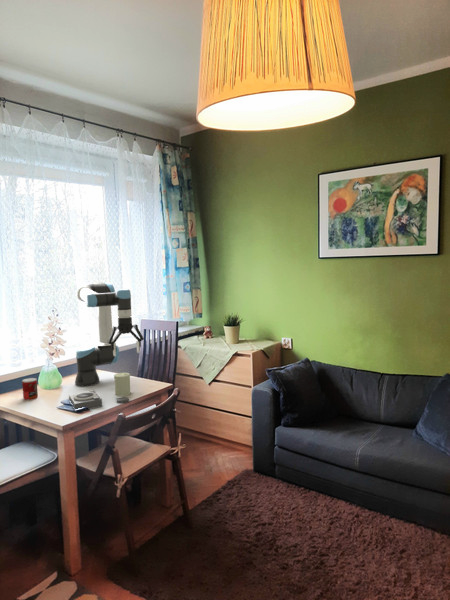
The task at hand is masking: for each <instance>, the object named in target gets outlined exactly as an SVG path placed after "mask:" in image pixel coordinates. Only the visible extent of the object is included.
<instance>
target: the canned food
mask: <svg viewBox="0 0 450 600" xmlns="http://www.w3.org/2000/svg"><path fill="white" fill-rule="evenodd" d="M21 383H22V384H21V386H22V395H23V396H22V397H23V400H24V401H30V400H31V401H32V400H36V399H37V398H38V395H39V394H38V379H37V378H36V377H29V378H24V379H22V381H21Z"/></svg>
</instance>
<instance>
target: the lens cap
mask: <svg viewBox="0 0 450 600" xmlns="http://www.w3.org/2000/svg"><path fill="white" fill-rule="evenodd" d="M129 402H130V397H128V396H127V397H125V396H121V397H118V398H116V404H127V403H129Z"/></svg>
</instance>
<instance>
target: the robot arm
mask: <svg viewBox="0 0 450 600" xmlns="http://www.w3.org/2000/svg"><path fill="white" fill-rule="evenodd" d="M75 294H76V297H77V299H78V300H79V301H82V302H85V305H86V307H87V308H97V323H98V334H99V335H98V336H99V343H98V344H97V347H96V346H94V345H91V346H89V345H88V346H83V347H81V348H79V349H78V350H76V354H75V356H76V371H77V373H76V376H75V380H74V385H75V386H77V387H90V386H95V385H97V384H100V377H99V374H98V372H97V367H101V366H106V365H113V364H116V363H117V362H118V361H119V358H120V348H119V345H117V343H116V342H117V340H118V339H119V338H120V336H121V335H125V334H131V335H132V336H133V338H135V339H136V341H135V343H136V353H137V354H140V348H141V347H142V343H141V342H142V341H144V340H145V337H144V336H143V334H142V333H141V331H140V329H139V325H138V324H136V323H135V324H133V319H132V318H133V317H132V315H133V314H132V295H131V290H130V289H129V288H128V289H126V288H125V289H117V290H116V291H115V287H114V285H113V284H112V282H106V281H105V282H93V283H92V282H91V283H86V284H84V283H83V284H82V285H79V287H78V288H77V290H76V293H75ZM113 306H116V308H117V323H118V325H117V326H113V320H112V318H113V317H112V307H113ZM133 329H134V330H135V331H136V333H137V334H136V333H135V332H134V330H133ZM117 330H118V331H117ZM116 332H117V334H116Z"/></svg>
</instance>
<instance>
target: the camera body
mask: <svg viewBox="0 0 450 600" xmlns="http://www.w3.org/2000/svg"><path fill="white" fill-rule="evenodd" d="M68 400H70V401H71V403H72V404H73V407H74V408H75V409H78V408H82V407H87V408H88V409H87V410H89V409H96V408H101V407H103V399H102V398H101V396H100V395H99V394H98V393H97V392H96V391H95V390H93V389H90V390H89V391H84V392H83V391H82V392H79V393H73V394H69V395H68ZM73 407H72V408H73ZM74 408H73V409H74Z"/></svg>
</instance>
